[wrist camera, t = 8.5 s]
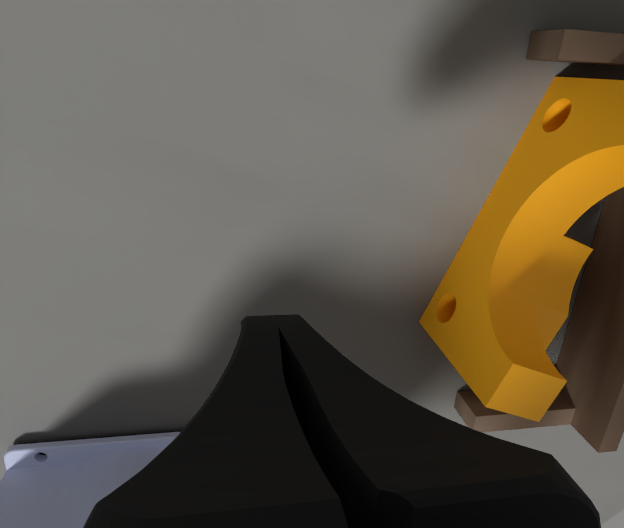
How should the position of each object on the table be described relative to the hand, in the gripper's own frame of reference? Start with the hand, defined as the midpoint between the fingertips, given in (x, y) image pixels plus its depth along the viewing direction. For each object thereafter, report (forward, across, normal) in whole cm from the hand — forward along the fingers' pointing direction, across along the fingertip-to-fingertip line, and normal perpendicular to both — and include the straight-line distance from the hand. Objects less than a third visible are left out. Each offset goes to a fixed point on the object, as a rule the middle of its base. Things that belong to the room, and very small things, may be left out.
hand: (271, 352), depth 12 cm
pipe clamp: (+10, -12, 0) cm, 16 cm away
